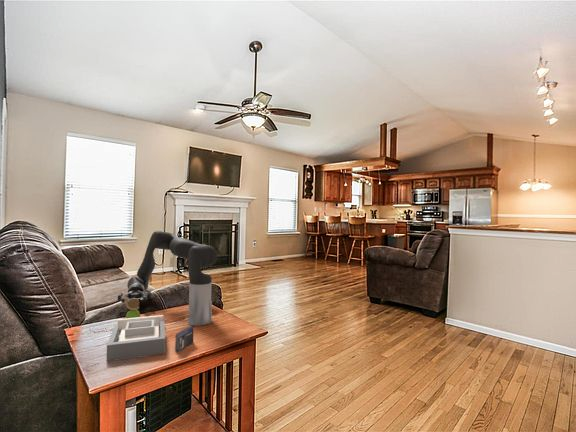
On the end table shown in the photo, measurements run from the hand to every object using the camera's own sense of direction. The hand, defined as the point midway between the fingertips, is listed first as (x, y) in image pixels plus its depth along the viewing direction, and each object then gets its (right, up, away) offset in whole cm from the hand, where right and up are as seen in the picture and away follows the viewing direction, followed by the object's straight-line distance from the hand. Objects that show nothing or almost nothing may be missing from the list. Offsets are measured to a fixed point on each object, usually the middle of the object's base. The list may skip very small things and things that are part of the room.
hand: (133, 299), depth 142 cm
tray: (+14, -7, -24) cm, 29 cm away
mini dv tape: (+34, -8, -33) cm, 49 cm away
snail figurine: (+4, -7, -10) cm, 13 cm away
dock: (+18, -7, -33) cm, 38 cm away
